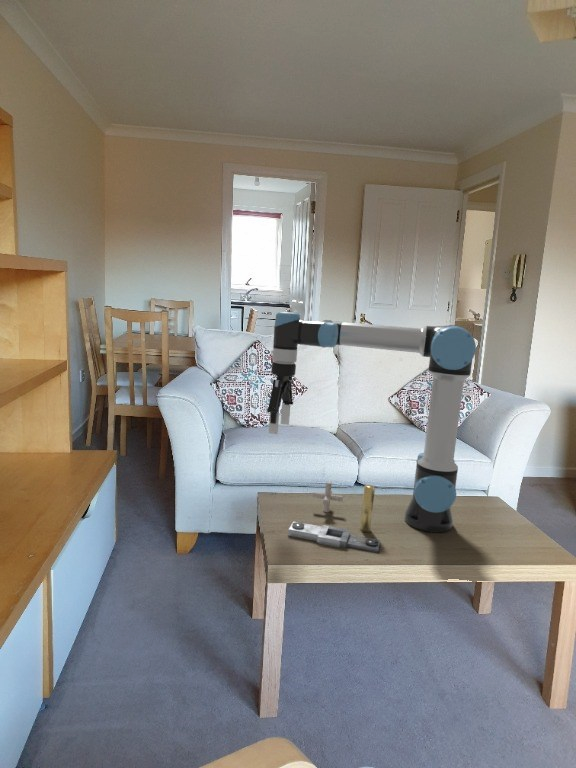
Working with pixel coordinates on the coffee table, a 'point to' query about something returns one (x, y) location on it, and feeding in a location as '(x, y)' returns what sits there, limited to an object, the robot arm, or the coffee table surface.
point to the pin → (367, 508)
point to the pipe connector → (327, 496)
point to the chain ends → (332, 536)
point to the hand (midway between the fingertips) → (279, 428)
